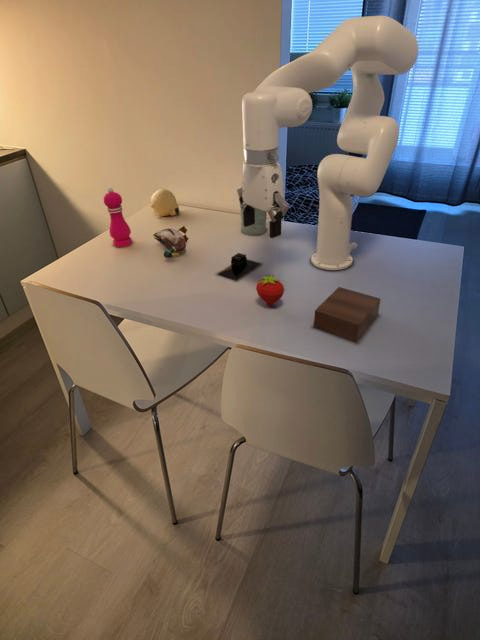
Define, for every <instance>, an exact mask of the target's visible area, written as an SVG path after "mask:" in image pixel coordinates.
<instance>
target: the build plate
mask: <svg viewBox="0 0 480 640" xmlns="http://www.w3.org/2000/svg"><path fill="white" fill-rule="evenodd" d="M260 265H261V263H260V262H256V261H253V260H249V259H248V257H247V255H246V254H244V253H241V252H238V253H236V254H233V255H232V256H231V260H230V265H229V266H228V267H226V268H225V269H223V270H221V271H220V272H218V274H217V275H218V276H221V277H223V278H226V279H229V280H232V281H238V280H240V279H241V278H243V277H244V276H246V275H247V274H249V273H250V272H251V271H253V270H254V269H256V268H257V267H259V266H260Z"/></svg>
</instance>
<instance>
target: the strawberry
mask: <svg viewBox="0 0 480 640" xmlns="http://www.w3.org/2000/svg"><path fill="white" fill-rule="evenodd" d="M261 278H262V279H259V281H258V282H256V284H255V285H256V286H255V291H256V292H257V293H256V294H257V295H258V297H259V298H260V299H261V300H262V301H263V302H264V303H265V305H267V306H269V307H273V306H274V305H275V304H276V303H278V302H279V301H280V300H281V298H282V297H283V295H284V292H285V288H284V287H285V286H284V284H283V283H282V282H281V281H280V280H279V279H278V276H276V277H275V276H274V277H273V274H271V275H270V276H269V273H267V276H261Z"/></svg>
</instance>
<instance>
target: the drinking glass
mask: <svg viewBox="0 0 480 640" xmlns="http://www.w3.org/2000/svg"><path fill="white" fill-rule="evenodd" d="M241 206H242V205H241V203H240V201H239V208H240V209H239V210H240V220H241V231H242V233H243V234H245V235H248V236H259V235H262V234H265V232H266V229H267V215H268V212H266V211H263V210H260V209H257V208H255V207H252V208H255V224H253V225H250V226H247V227H245V226H244V223H243V211H244V210H242V209H241Z"/></svg>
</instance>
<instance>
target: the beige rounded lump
mask: <svg viewBox="0 0 480 640" xmlns="http://www.w3.org/2000/svg"><path fill="white" fill-rule="evenodd" d="M149 204H150V207H151V209H153V211H154V212H155V213H156V214H157V217H158V218H161V217H167V216H171V217H172V216H173V217H174V216H177V215H178V214H179V213H180V205H179V204H178V202H177V199H176V196H175V194H174V193H173V192H172V191H170V190H169V189H167V188H160V189H158V190H156V191H154V192H153V194H152V195H151V197H150V200H149Z"/></svg>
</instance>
